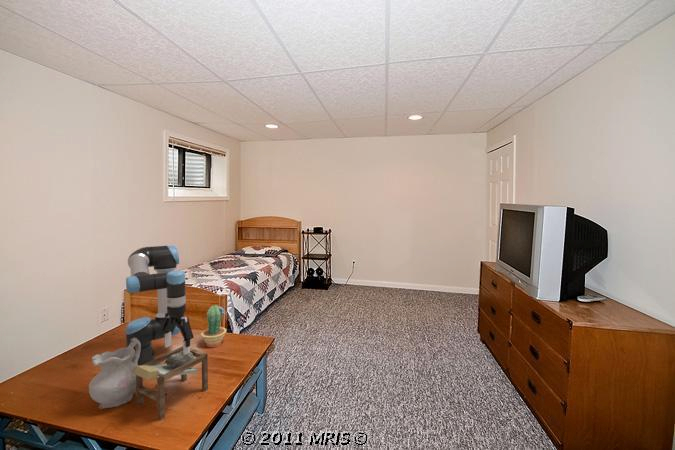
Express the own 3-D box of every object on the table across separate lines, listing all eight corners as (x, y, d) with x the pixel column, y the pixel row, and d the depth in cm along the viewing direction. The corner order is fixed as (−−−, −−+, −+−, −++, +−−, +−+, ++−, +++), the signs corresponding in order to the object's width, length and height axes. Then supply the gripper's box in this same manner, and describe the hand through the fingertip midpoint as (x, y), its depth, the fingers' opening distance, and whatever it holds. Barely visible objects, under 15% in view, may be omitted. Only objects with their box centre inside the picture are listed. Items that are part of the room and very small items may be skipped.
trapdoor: (131, 372, 120) (133, 364, 121) (179, 367, 140) (181, 360, 141) (149, 381, 114) (152, 373, 115) (197, 375, 134) (199, 368, 134)
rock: (168, 372, 124) (172, 357, 125) (158, 366, 129) (161, 351, 130) (196, 365, 136) (199, 351, 137) (186, 360, 140) (189, 346, 141)
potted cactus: (220, 350, 174) (220, 310, 173) (196, 349, 175) (195, 309, 173) (230, 338, 190) (230, 302, 188) (207, 338, 190) (207, 301, 189)
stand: (136, 405, 125) (135, 367, 124) (184, 378, 145) (184, 345, 144) (160, 420, 117) (159, 379, 116) (207, 389, 137) (207, 354, 136)
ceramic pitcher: (116, 385, 140) (110, 337, 138) (157, 381, 141) (151, 333, 140) (79, 418, 118) (72, 361, 117) (128, 413, 120) (121, 356, 118)
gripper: (152, 302, 132) (153, 346, 134) (186, 312, 121) (187, 360, 122) (167, 298, 139) (168, 340, 140) (201, 307, 128) (202, 352, 129)
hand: (177, 349), depth 131 cm, fingers open, 13 cm apart
